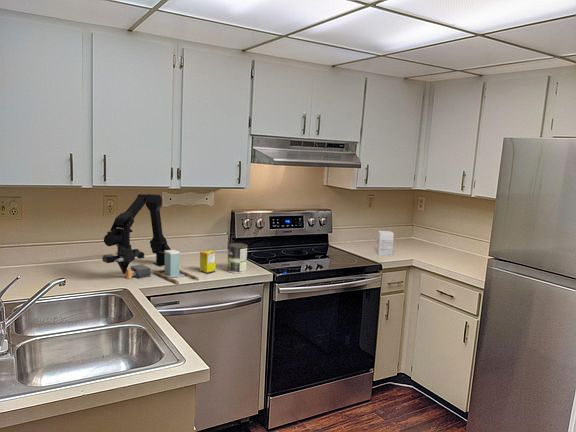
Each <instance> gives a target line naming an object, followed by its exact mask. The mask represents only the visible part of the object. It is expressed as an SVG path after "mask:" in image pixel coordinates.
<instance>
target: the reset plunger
mask: <svg viewBox="0 0 576 432" xmlns="http://www.w3.org/2000/svg"><path fill="white" fill-rule="evenodd" d="M133 276H135V277H136V270H134V271H132V270H131V268H129V267H127V270H126V273H125V274H124V277H125V278H127V279H132V277H133Z"/></svg>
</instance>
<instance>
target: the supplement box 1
mask: <svg viewBox="0 0 576 432" xmlns="http://www.w3.org/2000/svg"><path fill="white" fill-rule="evenodd" d="M216 254H217V253H216V251H214V250H210V249H208V250H207V249H206V250H201V251H199V273H204V274H205V275H206V274H207V275H208V274H211V273H216V268H217V267H216V266H217V265H216V262H217V261H216Z"/></svg>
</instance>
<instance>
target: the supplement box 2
mask: <svg viewBox="0 0 576 432" xmlns="http://www.w3.org/2000/svg"><path fill="white" fill-rule="evenodd" d="M394 237H395V233H394V232H393V231H392V230H378V232H377V244H376V245H377V246H376V253H377V255H378V256H379V257H380V256H381V257H382V256H383V257H393V251H394V239H395V238H394Z"/></svg>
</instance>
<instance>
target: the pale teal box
mask: <svg viewBox="0 0 576 432" xmlns="http://www.w3.org/2000/svg"><path fill="white" fill-rule="evenodd" d="M164 252H165V265H164V270H165V274H167V275H169V276H174V275H179V270H180V254H181V251H179V250H177V249H171V250H166V251H164Z"/></svg>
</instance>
